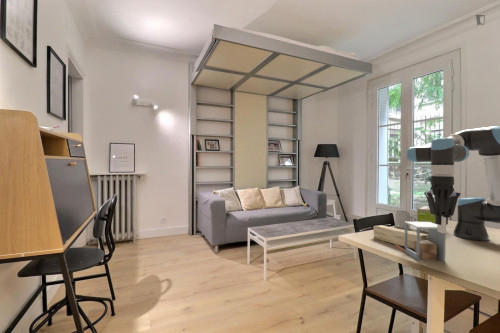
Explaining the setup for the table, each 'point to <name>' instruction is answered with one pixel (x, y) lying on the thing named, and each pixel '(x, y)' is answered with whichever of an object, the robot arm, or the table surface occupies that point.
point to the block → (426, 249)
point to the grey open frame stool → (432, 236)
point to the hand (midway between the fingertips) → (441, 232)
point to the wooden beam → (397, 235)
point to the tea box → (425, 216)
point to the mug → (403, 219)
